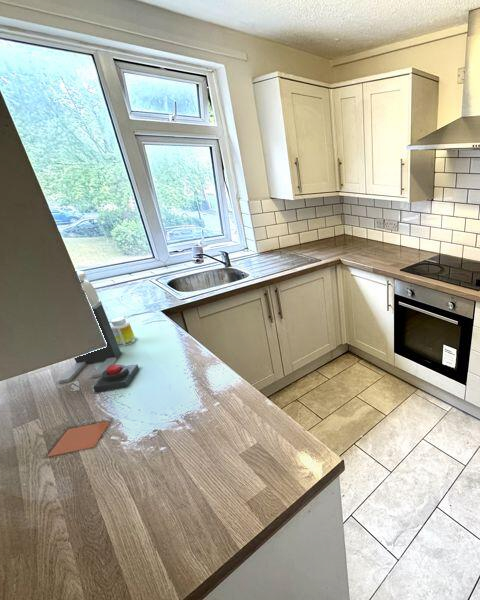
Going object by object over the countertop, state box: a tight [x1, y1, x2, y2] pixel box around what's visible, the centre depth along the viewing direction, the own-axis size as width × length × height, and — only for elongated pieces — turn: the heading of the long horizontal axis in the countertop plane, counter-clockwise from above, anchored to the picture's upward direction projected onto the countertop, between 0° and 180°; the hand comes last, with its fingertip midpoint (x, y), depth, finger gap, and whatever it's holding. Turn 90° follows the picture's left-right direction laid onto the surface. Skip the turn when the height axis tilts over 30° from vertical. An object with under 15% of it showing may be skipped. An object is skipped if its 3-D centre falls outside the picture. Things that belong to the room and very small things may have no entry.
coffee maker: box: [58, 300, 122, 384], centre depth 105 cm, size 11×14×21 cm
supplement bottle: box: [110, 316, 136, 347], centre depth 123 cm, size 6×6×10 cm
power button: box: [107, 363, 121, 375], centre depth 102 cm, size 3×3×2 cm
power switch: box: [93, 363, 140, 393], centre depth 103 cm, size 8×10×4 cm
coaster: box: [46, 420, 111, 458], centre depth 82 cm, size 9×9×1 cm
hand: (61, 324), depth 93 cm, fingers closed on sprinkles bottle, 4 cm apart
